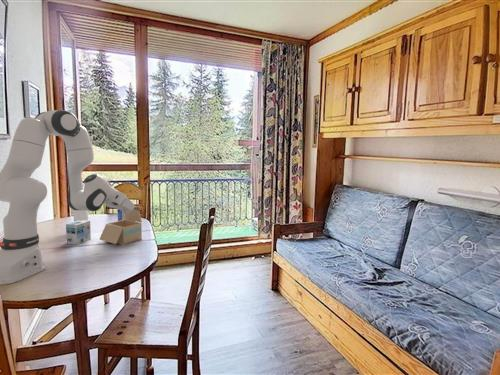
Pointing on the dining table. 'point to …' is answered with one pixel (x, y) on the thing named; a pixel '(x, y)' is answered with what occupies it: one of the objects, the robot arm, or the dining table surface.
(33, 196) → the robot arm
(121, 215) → the ink cartridge box
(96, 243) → the dining table surface
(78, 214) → the bottle
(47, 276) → the dining table surface
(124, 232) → the carton
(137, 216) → the flap
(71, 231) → the light bulb box
